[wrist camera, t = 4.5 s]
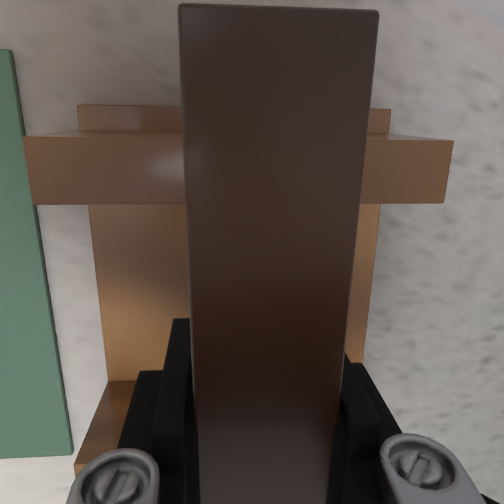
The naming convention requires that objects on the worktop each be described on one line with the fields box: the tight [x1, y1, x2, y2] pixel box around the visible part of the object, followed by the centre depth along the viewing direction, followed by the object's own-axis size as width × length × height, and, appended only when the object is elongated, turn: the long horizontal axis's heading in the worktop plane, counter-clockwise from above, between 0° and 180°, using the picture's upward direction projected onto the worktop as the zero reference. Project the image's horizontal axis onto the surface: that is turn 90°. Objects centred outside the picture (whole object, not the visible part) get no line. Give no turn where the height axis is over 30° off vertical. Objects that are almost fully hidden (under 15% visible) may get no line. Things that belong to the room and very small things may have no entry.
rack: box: [22, 104, 454, 477], centre depth 17 cm, size 16×13×6 cm
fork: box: [177, 3, 379, 504], centre depth 8 cm, size 17×4×2 cm, turn 179°
